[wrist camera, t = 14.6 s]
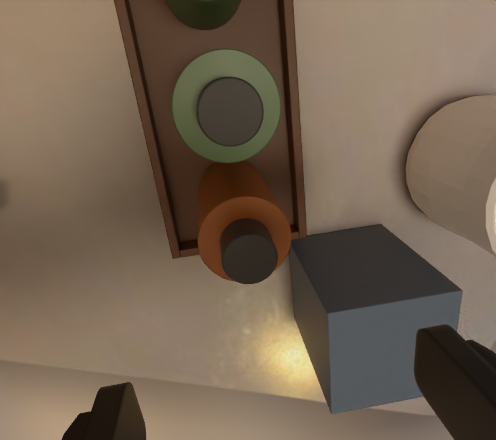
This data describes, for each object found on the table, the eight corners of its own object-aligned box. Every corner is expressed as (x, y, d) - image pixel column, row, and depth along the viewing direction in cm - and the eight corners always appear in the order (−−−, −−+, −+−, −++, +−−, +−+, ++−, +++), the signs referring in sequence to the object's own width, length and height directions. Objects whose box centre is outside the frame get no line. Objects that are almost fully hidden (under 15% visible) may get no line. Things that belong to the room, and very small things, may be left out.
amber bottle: (205, 224, 27) (206, 312, 17) (194, 163, 25) (188, 220, 15) (266, 214, 27) (304, 295, 17) (260, 153, 25) (298, 202, 15)
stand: (294, 317, 32) (331, 415, 23) (287, 238, 29) (327, 314, 20) (379, 303, 32) (449, 392, 23) (381, 223, 29) (463, 290, 20)
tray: (174, 246, 28) (172, 259, 26) (100, -88, 20) (89, -106, 18) (300, 226, 29) (307, 237, 27) (278, -105, 20) (286, -124, 19)
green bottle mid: (189, 139, 24) (180, 182, 14) (176, 64, 23) (154, 51, 12) (257, 129, 25) (296, 165, 15) (249, 55, 23) (287, 35, 13)
